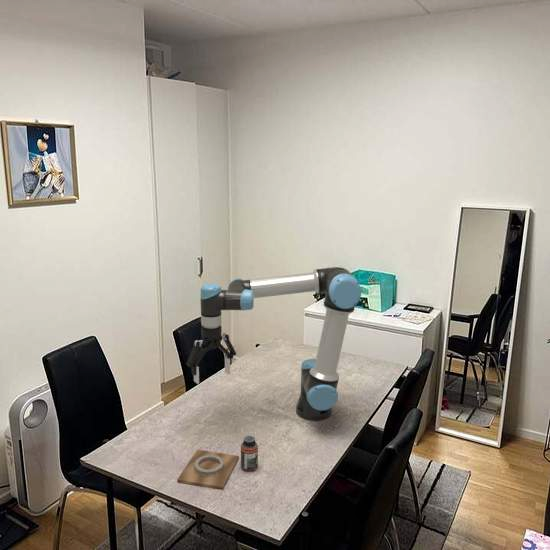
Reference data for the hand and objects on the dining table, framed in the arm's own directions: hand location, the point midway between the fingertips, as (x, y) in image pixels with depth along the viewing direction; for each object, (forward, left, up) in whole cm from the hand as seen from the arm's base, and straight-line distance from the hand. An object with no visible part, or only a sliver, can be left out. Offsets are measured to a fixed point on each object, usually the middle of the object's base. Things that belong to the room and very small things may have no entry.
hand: (212, 377), depth 196 cm
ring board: (-7, +24, -23) cm, 34 cm away
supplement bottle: (-20, +19, -23) cm, 36 cm away
